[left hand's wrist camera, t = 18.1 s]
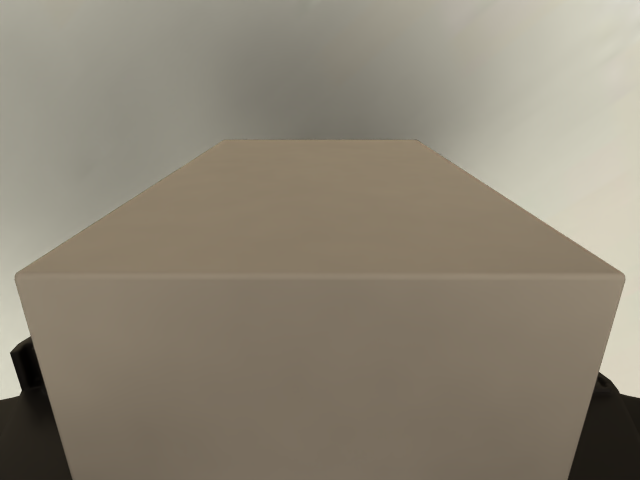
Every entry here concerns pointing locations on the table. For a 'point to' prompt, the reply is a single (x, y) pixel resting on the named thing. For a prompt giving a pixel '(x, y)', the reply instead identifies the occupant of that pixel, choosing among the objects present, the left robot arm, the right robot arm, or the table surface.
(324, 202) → the box
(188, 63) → the table surface
